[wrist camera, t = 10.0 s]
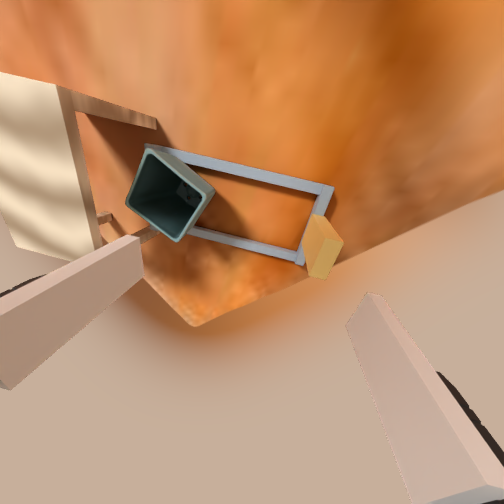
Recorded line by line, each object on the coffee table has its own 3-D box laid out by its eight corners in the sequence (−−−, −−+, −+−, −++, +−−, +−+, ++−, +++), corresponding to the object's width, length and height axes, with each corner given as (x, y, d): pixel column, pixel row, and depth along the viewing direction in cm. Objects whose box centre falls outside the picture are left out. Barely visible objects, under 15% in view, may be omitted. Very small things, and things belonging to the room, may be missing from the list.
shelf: (82, 101, 28) (-72, 55, 16) (156, 118, 27) (55, 84, 15) (104, 218, 37) (16, 246, 25) (160, 232, 36) (99, 268, 24)
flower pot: (161, 193, 33) (122, 204, 25) (183, 149, 29) (146, 145, 21) (201, 225, 34) (177, 244, 26) (227, 187, 30) (208, 196, 22)
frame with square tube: (157, 144, 29) (83, 135, 18) (333, 186, 28) (364, 202, 17) (160, 224, 35) (106, 251, 24) (303, 260, 34) (312, 306, 23)
